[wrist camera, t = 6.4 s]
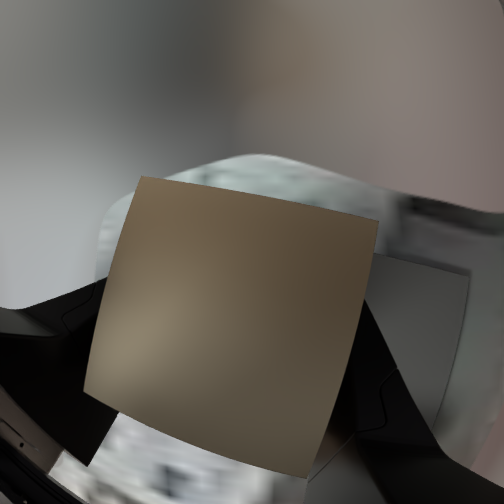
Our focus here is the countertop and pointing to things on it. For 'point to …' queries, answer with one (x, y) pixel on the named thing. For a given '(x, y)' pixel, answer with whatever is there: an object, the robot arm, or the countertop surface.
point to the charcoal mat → (418, 324)
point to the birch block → (231, 320)
